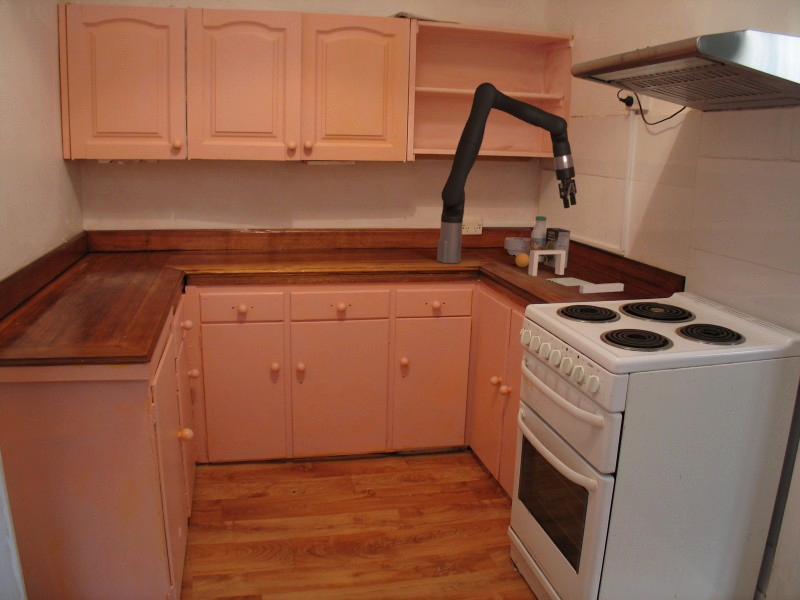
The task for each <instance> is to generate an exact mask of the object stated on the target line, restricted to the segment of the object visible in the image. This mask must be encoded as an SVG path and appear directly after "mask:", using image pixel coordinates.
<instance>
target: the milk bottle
mask: <svg viewBox="0 0 800 600" xmlns="http://www.w3.org/2000/svg"><path fill="white" fill-rule="evenodd" d="M546 222H547V217H546V216H543V215H539V216H538V215H537V216H535V225H534V227H533V229H532V231H531V234H530V238H531V239H530V249H529V258H530V250H545V242H546V231H547V225H546ZM538 263H544V254H540V255H539V256H538Z"/></svg>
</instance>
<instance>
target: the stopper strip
mask: <svg viewBox="0 0 800 600" xmlns="http://www.w3.org/2000/svg"><path fill="white" fill-rule="evenodd" d="M593 284H594V285H579V290H578V292H579V293H580V294H593V293H594V294H595V293H596V294H597V293H609V292H610V293H613V292H624V287H625V284H624V283H621V282H615V283H598V284H596V283H593Z"/></svg>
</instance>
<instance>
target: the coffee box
mask: <svg viewBox="0 0 800 600" xmlns="http://www.w3.org/2000/svg"><path fill="white" fill-rule="evenodd" d="M546 229H547V231H546V242H545V250H565V251H566V255H565V265H564V269H566V268H567V265H568V257H569V247H570V239H571V237H570V236H571V230H569V229H565V228H561V227H546ZM556 257H557V254H544V262H543V265H544V266H547V267H551V268H553V269H555V268H556Z"/></svg>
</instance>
